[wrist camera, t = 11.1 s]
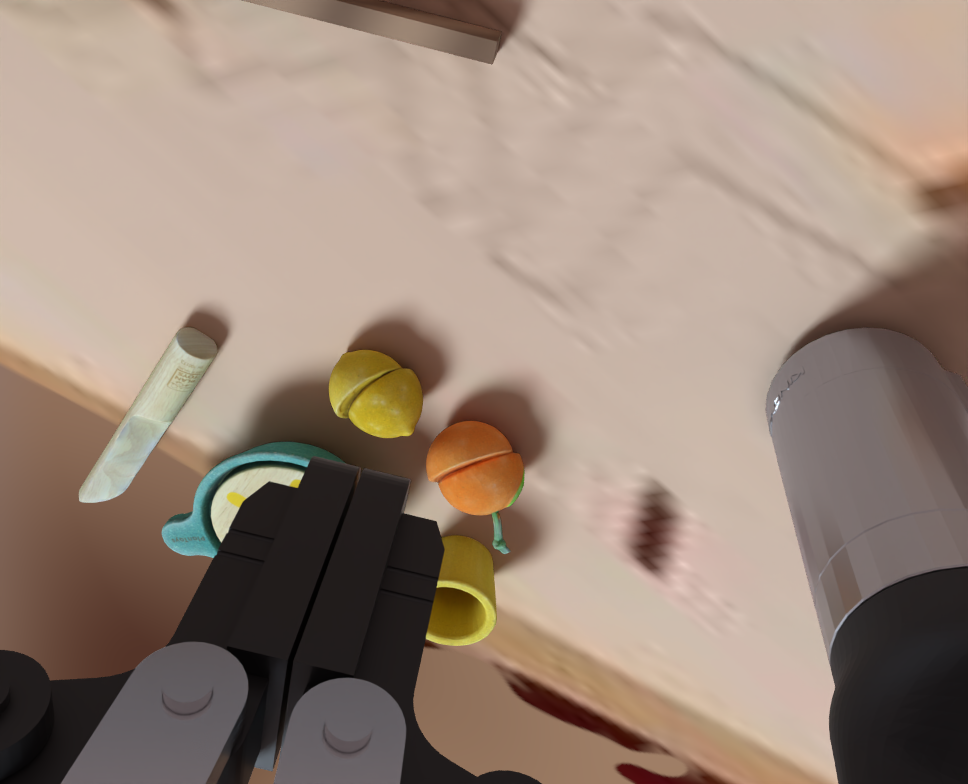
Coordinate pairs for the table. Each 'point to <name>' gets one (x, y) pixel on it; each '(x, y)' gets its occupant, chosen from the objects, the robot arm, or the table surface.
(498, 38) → the wooden crate
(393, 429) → the toy juicer set
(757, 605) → the table surface
